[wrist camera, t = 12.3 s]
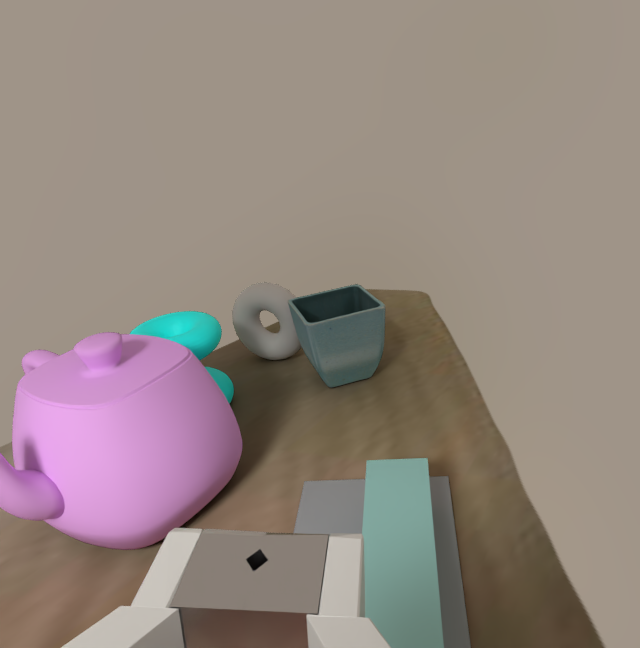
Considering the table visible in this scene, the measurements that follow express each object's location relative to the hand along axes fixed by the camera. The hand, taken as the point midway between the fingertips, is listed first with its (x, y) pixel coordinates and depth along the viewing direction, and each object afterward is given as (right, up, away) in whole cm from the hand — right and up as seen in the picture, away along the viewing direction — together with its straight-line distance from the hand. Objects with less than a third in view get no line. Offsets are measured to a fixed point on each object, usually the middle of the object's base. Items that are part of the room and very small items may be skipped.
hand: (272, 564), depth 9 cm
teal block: (+5, -15, +22) cm, 27 cm away
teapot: (-15, -12, +43) cm, 47 cm away
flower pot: (+4, -2, +59) cm, 59 cm away
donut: (-5, -1, +66) cm, 66 cm away
